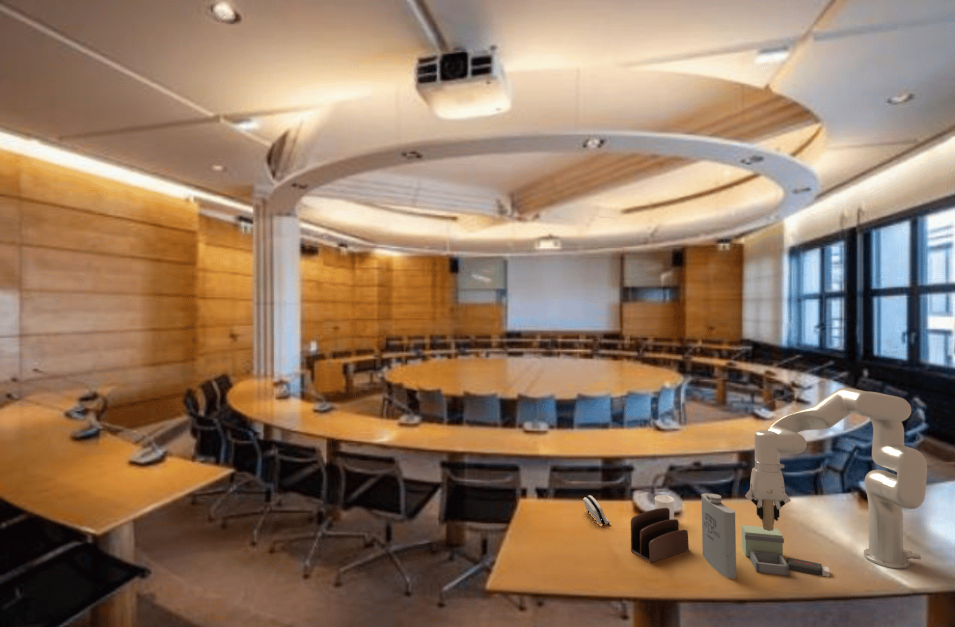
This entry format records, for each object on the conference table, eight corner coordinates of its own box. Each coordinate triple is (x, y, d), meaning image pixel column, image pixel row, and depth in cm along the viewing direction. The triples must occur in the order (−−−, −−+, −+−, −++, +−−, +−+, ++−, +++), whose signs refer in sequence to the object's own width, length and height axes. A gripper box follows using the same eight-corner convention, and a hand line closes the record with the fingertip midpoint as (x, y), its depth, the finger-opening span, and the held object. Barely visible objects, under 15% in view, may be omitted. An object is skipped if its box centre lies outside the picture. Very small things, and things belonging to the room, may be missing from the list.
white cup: (676, 520, 212) (676, 497, 212) (672, 527, 206) (672, 503, 206) (657, 516, 217) (657, 493, 216) (653, 523, 210) (652, 500, 210)
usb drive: (787, 563, 176) (787, 555, 176) (828, 571, 170) (828, 563, 170) (787, 570, 172) (787, 562, 172) (829, 579, 166) (829, 570, 166)
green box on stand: (778, 552, 183) (778, 528, 183) (793, 576, 167) (792, 549, 167) (741, 548, 187) (741, 525, 187) (752, 571, 171) (752, 545, 171)
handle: (756, 525, 177) (755, 483, 176) (776, 527, 174) (776, 485, 174) (759, 531, 172) (758, 488, 172) (780, 533, 170) (779, 490, 170)
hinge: (611, 525, 209) (603, 504, 208) (601, 530, 208) (593, 508, 208) (597, 509, 225) (589, 489, 225) (588, 514, 225) (580, 494, 224)
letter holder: (630, 551, 187) (629, 514, 187) (668, 539, 195) (667, 504, 195) (650, 563, 178) (649, 525, 178) (689, 550, 186) (688, 513, 186)
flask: (698, 553, 184) (697, 486, 184) (710, 552, 184) (709, 486, 184) (725, 579, 166) (723, 505, 166) (738, 578, 167) (736, 504, 166)
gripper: (790, 464, 174) (791, 516, 174) (738, 461, 179) (739, 511, 179) (798, 471, 167) (798, 525, 167) (743, 468, 172) (744, 520, 172)
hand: (767, 517), depth 173 cm, fingers closed on handle, 4 cm apart
